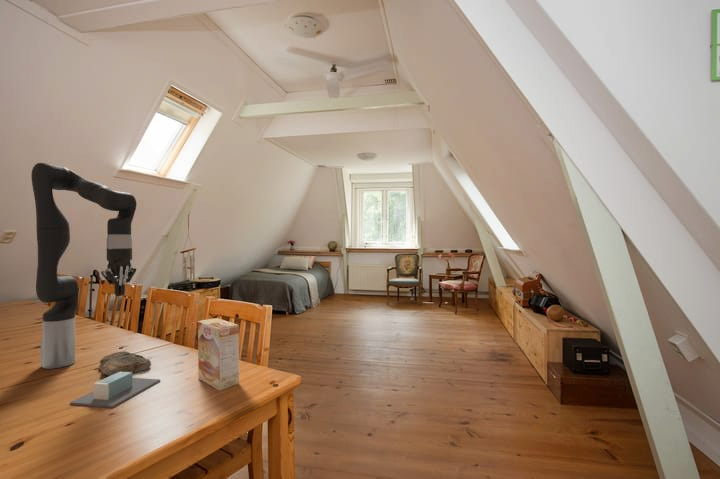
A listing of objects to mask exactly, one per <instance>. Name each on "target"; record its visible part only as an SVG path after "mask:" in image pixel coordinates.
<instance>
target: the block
mask: <svg viewBox="0 0 720 479" xmlns="http://www.w3.org/2000/svg"><path fill="white" fill-rule="evenodd" d="M132 378H133V373H132V372H118V373H116V374H113V375H111V376H107V377H105V378H103V379H100V380H98V381H96V382H94V383H93V391H94V399H101V400H108V399H110V398H112V397H114V396H115V395H117V394H119V393H121V392H123V391H125V390H127V389H129V388H131V387H132Z"/></svg>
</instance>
